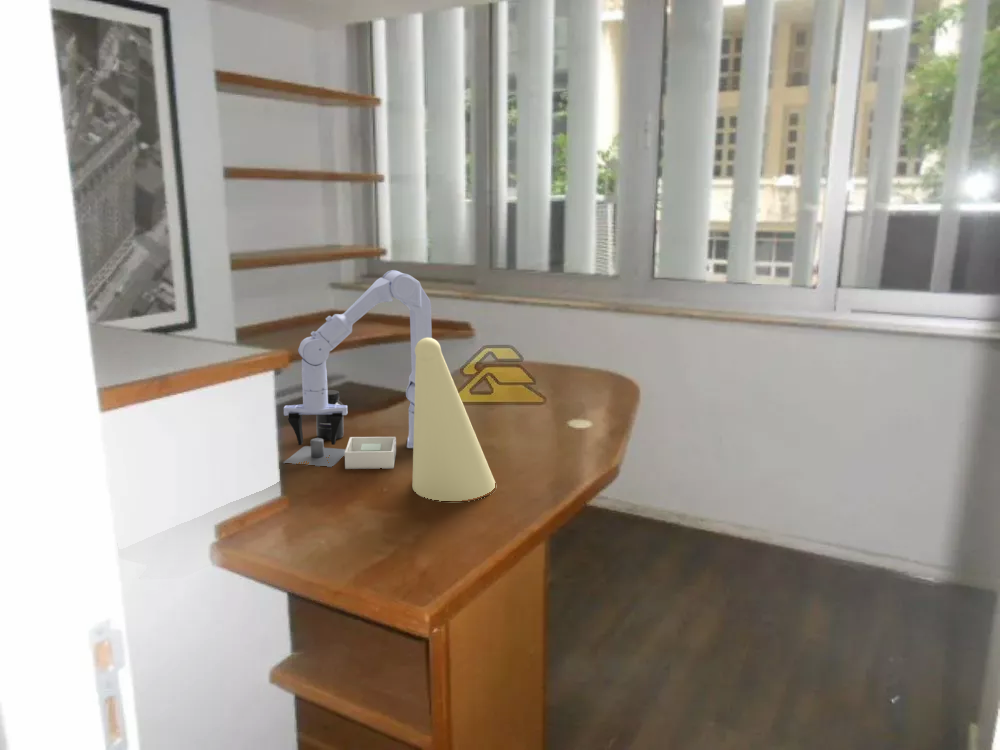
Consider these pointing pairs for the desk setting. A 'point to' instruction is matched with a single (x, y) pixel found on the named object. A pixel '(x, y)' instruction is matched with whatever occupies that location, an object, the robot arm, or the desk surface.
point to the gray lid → (317, 454)
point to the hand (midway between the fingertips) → (317, 443)
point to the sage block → (371, 447)
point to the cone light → (444, 434)
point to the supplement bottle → (324, 420)
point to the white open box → (370, 453)
